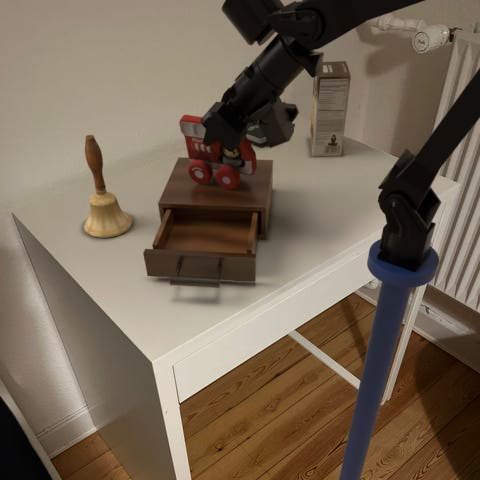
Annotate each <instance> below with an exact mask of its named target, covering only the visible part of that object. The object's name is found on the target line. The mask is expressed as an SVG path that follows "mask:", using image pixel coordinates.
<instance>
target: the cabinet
mask: <svg viewBox="0 0 480 480" xmlns="http://www.w3.org/2000/svg"><path fill="white" fill-rule="evenodd" d="M256 162H257V169H256V171H255V172H254V174H253V175H245V174H240V177H241V179H240V183H239V184H238V186H237V187H236V188H235V189H232V190H228V189H225V188H223V187H222V186H220V185H219V184H218V182H217V180H216V172H217V171H218V170H217V169H212V170H213V176H212V178H211V179H210V181H209V182H208V183H206V184H200V183H197V182H195V181H194V180H193V179H192V178H191V177H190V175H189V172H188V169H189V166H190V165H191V163H190V161H189V157H183V156H182V157H181V156H180V157H178V158H177V160H176V163H175V164H174V166H173V169H172V171H171V173H170V175H169V178H168V180H167V181H166V185H165V187H164V189H163V191H162V193H161V196H160V197H159V201H158V202H157V207H158V212H159V218H160V219H159V220H160V223H161V222H162V220H163V217H164V215H165V213H166V210H167V208H185V209H211V210H237V211H260V219H259V220H260V223H259V230H258V236H257V240H266V239H267V234H268V233H267V232H268V226H269V218H270V211H271V210H270V209H271V203H272V195H273V182H274V181H273V180H274V179H273V176H274V175H273V174H274V159H256Z"/></svg>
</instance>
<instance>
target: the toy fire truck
mask: <svg viewBox="0 0 480 480" xmlns="http://www.w3.org/2000/svg"><path fill="white" fill-rule="evenodd" d="M202 117H203V116H198V115H192V114H183V115H182V116H181V117H180V120H179V124H178V125H179V129H180V132H181V134H182V135H183V136H184V141H185V147H186V151H187V156H188V157H187V158H189V161H190V163H191V165H190V166H189V169H188V172H189V175H190V177H191V178H192V179H193V180H194V181H195V182H197V183H200V184H206V183H208V182H209V181H210V179H211V178H212V176H213V170H212V169H217V170H218V171H217V172H216V180H217V182H218V184H219V185H220V186H222V187H223V188H225V189H228V190H232V189H235V188H236V187H237V186H238V184H239V183H240V179H241V177H240V174H245V175H253V174H254V172H255V171H256V169H257V162H256V160H257V153H256V150H255V149H254V147H253V146H252V143H250V142H249V141H248V139H247V137H246V136H245V138H244V139H243V141H242V142H241V144H240V145H239V146H238V147H237V148H236V149H235V150H234V151H233V152H229V151H227V150H226V149H225V148H224V147H223V146H222V145H221V144H220V143H219V142H218V141H217V142H216V143H214V144H212V145H210V146H209V147H207V146H206V145H205V144H204V143H203V139H204V135H205V131H206V129H205V128H204V127H203V126H202V124H201V121H200V120H201V118H202Z"/></svg>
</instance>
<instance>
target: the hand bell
mask: <svg viewBox="0 0 480 480" xmlns="http://www.w3.org/2000/svg"><path fill="white" fill-rule="evenodd" d="M84 138H85V142H84V156H85V161H86V163H87V166H88V169H89V170H90V172H91V174H92V176H93V183H94V189H95V193H94V194H92V195H91V196H90V197H89V216H88V218H86V221H85V222H84V226H83V228H84V232H85V233H86V234H88V235H89V236H91V237H94V238H101V239H102V238H105V239H108V238H113V237H114V238H115V237H117V236H120V235H123V234H124V233H126V232H128V231H129V230H130V229H131V227H132V226H133V218H132V217H131V216H130V215H129V214H128V213H127V212H125V211H123V209H122V208H121V206H120V204H119V201H118V199H117V196H116V194H115V193H113V192H110V191H107V185H106V182H105V179H104V175H103V169H104V159H103V153H102V148H101V147H100V144H99V143H98V142H97V140H96V139H95V138H96V137H95V135H93V134H88V135H86V136H85V137H84Z"/></svg>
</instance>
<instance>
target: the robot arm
mask: <svg viewBox="0 0 480 480" xmlns="http://www.w3.org/2000/svg"><path fill="white" fill-rule="evenodd" d="M424 1H426V0H300V1H296V0H294V1H292V2H290V3H288V4H286V5H285V4H284V3H283V2H282V0H225V1H224V2H223V4H222V6H221V12H222V13H223V15H225V17H226V18H227V19H228V21H229V22H230V23H231V25H232V26H233V27H234V29H236V30H235V31H237V32H238V33H239V35H240V36H241V37H242V39H243V40H244V41H245V42H246V44H247V45H249V46H253V45H254V44H255V43H256V44H257V46H259V47H261V46H263V45H264V44H265V43H267V42H268V41H269V40H270V39H271V38H272V37H273V38H272V39H271V41H269V43H268V44H267V46H266V47H265V48H264V49H263V50H262V51H261V52H260V53H259V54H258V55H257V56H256V57H255V59H254V60H253V61H252V62H251V63H250V64H249V65H248V66H245V68H243V70H241V72H240V73H239V74H238V76H236V78H235V79H234V83H233V84H232V85H231V86H230V87H228V88H227V89H226V90H225V91H224V93H223V94H222V97H221V99H220V101H215V102H214V104H213V105H212V106H211V107H210V108H208V110H207V111H206V112H205V114H204V115H202V116H201V117H202V118H201V120H200V121H201V124H202V126H203V127H204V128H205V129H206V131H205V135H204V139H203V143H204V144H205V145H206V146H207V147H209V146H210V145H212V144H214V143H216V142H217V141H218V142H219V143H220V144H221V145H222V146H223V147H224V148H225V149H226V150H227V151H229V152H233V151H234V150H235V149H236V148H237V147H238V146H239V145H240V144H241V142H242V141H243V139H244V138H245V136H246V135H247V125H248V123H251V122H252V123H253V125H255V124H256V123H257V122H258V121H259V125H260V127H261V130H262V132H263V134H264V136H265V138H266V143H267V144H266V145H267V146H268V147H269V148H270V149H272V148H275V147H277V146H280V145H282V144H285V143H288V142H290V140H291V139H292V137H293V135H294V133H295V127H296V124H295V123H294V121H295V120H296V119H297V117H298V116H299V113H300V111H299V109H298V108H299V107H298V106H297V104H296V103H287V102H286V101H282V98H281V95H283V93H284V92H285V90H286V88H288V86H290V84H291V83H292V82H294V80H295V79H296V78H297V77H298V76H299V75H300V74H301V73H302V72H303V71H304V70H305V71H306V73H307V74H308V76H310V77H311V78H313V79H314V77H315V76H317V75H318V74H320V73H321V72H322V71H323V62H324V56H325V52H323V51H317V50H319V49H321V48H323V47H325V46H327V45H329V44H330V43H332V42H334V41H335V40H337V39H339V38H340V37H342V36H344V35H346V34H347V33H349V32H350V31H352V30H354V29H356V28H357V27H360V26H361V25H363V24H364V23H366V22H368V21H371V20H374V19H376V18H379V17H382V16H385V15H388V14H392V13H394V12H396V11H399V10H402V9H405V8H408V7H411V6H413V5H417V4H419V3H423V2H424ZM274 34H276V35H275V36H274ZM479 120H480V67H478V69H477V70H476V72H475V73H474V75H473V76H472V77H471V78H470V80H469V81H468V83H467V84H466V86H465V87H464V88H463V89H462V91H461V92H460V94H459V95H458V96H457V98H456V99H455V100H454V102H453V104H451V106H450V108H449V109H448V110H447V112H446V113H445V114H444V115H443V117H442V119H440V121H439V123H438V124H437V125H436V127H435V128H434V130H433V131H432V133H431V134H430V135H429V137H428V138H427V140H426V141H425V142H424V144H423V145H422V146H421V147H420V148H419V149H417V150H416V151H415V152H414V153H413V152H412V151H410V150H409V149H408V148H405V149H404V150H403V152H402V153H401V154H400V156H399V157H398V158H397V160H396V162H395V163H394V164H393V165H392V168H391V169H390V170H389V171H388V173H386V176H385V177H384V179H383V180H382V181H381V182H380V184H379V186H378V190H381V191H380V193H379V195H378V197H377V203H378V206H379V209H380V210H381V212H382V214H384V217H385V222H386V224H385V225H384V226H383V227H382V231H381V237H380V239H381V241H380V246H379V248H380V249H381V251H380V252H379V253H378V255H377V259H379V260H382V261H384V262H387V263H390V264H393V265H395V266H398V267H401V268H404V269H406V270H409V271H412V272H416V271H417V270H418V269H419V268H420V266H421V265H422V264H423V263H424V261H425V260H426V259H427V257H428V256H429V255H430V253H431V250H430V249H429V247H430V246H431V243H432V239H433V235H434V233H435V228H436V225H437V223H436V222H433V220H434V218H435V216H436V214H437V212H438V210H439V209H440V207H441V205H442V201H441V199H440V197H439V196H438V195H437V193H436V192H435V191H434V188H432V185H433V183H434V182H435V179H436V178H437V176H438V174H439V172H440V170H441V168H442V167H443V166H444V165H445V163H446V162H447V161H448V159H449V158H450V157H451V155H452V154H453V153H454V152H455V151H456V149H457V148H458V147H459V145H460V144H461V143H462V142H463V140H464V139H465V138H466V136H467V135H468V134H469V133H470V131H471V130H472V129H473V127H474V126H475V125H476V124H477V122H478V121H479Z"/></svg>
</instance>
